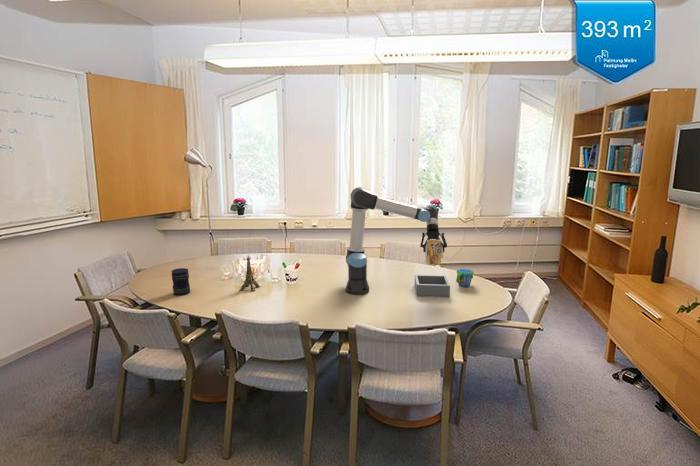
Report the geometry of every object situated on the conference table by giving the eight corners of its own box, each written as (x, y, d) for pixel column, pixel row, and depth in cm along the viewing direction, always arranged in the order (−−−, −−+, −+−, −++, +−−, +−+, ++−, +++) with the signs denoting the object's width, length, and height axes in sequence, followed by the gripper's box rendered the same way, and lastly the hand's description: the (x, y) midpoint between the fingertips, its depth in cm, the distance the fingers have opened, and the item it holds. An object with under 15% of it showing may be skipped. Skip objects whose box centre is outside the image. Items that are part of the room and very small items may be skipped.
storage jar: (186, 289, 266) (184, 267, 263) (192, 293, 260) (191, 270, 257) (170, 293, 260) (168, 270, 257) (177, 297, 253) (175, 273, 250)
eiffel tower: (254, 292, 262) (252, 254, 257) (238, 290, 264) (236, 253, 259) (260, 286, 272) (259, 249, 267) (245, 285, 274) (244, 249, 269)
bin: (416, 296, 254) (416, 284, 252) (414, 285, 273) (414, 274, 272) (449, 297, 252) (450, 285, 251) (445, 286, 272) (445, 275, 270)
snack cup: (466, 281, 282) (466, 267, 280) (478, 285, 274) (479, 270, 271) (450, 285, 274) (450, 270, 272) (462, 290, 265) (463, 274, 263)
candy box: (439, 263, 262) (440, 239, 258) (441, 264, 257) (442, 241, 254) (425, 263, 261) (426, 239, 258) (427, 265, 257) (427, 241, 254)
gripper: (448, 229, 269) (451, 259, 257) (415, 229, 271) (416, 259, 259) (450, 223, 263) (453, 253, 251) (415, 222, 265) (416, 253, 253)
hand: (434, 256), depth 255 cm, fingers closed on candy box, 9 cm apart
